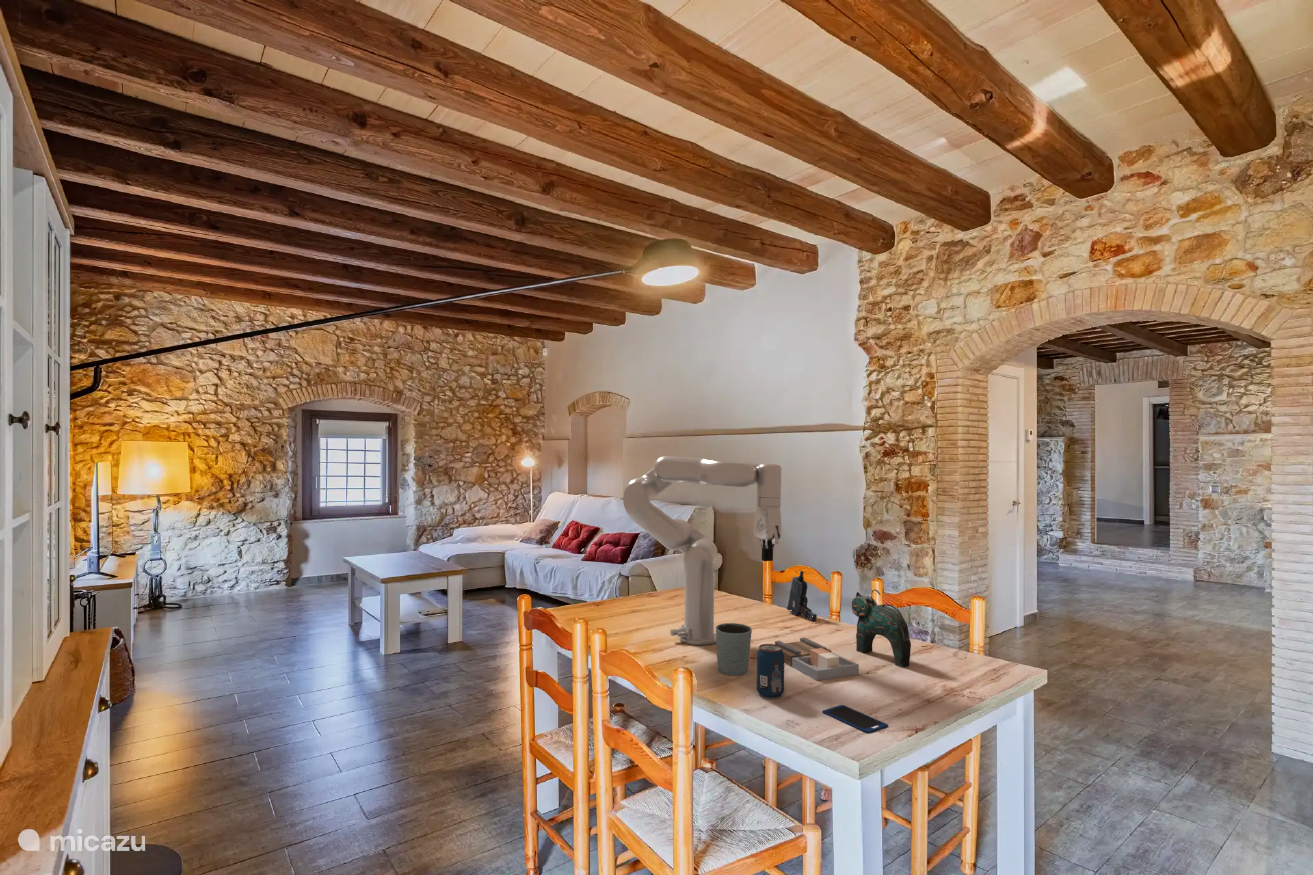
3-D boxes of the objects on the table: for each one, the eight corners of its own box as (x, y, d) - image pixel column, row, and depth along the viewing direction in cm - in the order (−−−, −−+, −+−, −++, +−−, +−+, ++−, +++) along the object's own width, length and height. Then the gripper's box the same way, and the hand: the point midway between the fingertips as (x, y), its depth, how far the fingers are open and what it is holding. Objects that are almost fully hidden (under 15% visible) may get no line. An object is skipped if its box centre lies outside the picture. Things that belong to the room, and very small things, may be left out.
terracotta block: (818, 667, 185) (818, 653, 185) (810, 663, 189) (810, 649, 189) (830, 666, 187) (830, 651, 187) (821, 661, 191) (821, 647, 191)
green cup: (730, 662, 192) (731, 620, 192) (759, 670, 185) (759, 627, 185) (707, 670, 185) (708, 627, 185) (736, 679, 178) (736, 635, 178)
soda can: (765, 687, 172) (765, 641, 173) (789, 693, 168) (789, 646, 168) (751, 695, 167) (751, 647, 167) (775, 702, 163) (775, 653, 163)
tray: (816, 680, 178) (816, 670, 178) (792, 667, 188) (792, 657, 188) (858, 673, 183) (858, 664, 183) (832, 661, 194) (832, 652, 194)
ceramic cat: (849, 649, 205) (849, 585, 205) (865, 646, 208) (865, 583, 208) (900, 669, 187) (900, 598, 187) (916, 665, 190) (916, 596, 190)
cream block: (818, 668, 185) (826, 672, 181) (818, 653, 185) (827, 658, 181) (829, 666, 187) (838, 671, 183) (829, 652, 187) (838, 656, 183)
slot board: (791, 666, 189) (791, 652, 189) (770, 655, 199) (770, 641, 199) (831, 660, 194) (831, 646, 194) (809, 649, 204) (809, 636, 204)
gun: (817, 585, 233) (793, 567, 247) (809, 628, 237) (786, 608, 251) (823, 584, 235) (798, 566, 248) (815, 627, 238) (791, 607, 252)
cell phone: (867, 735, 145) (867, 732, 145) (820, 713, 157) (820, 710, 157) (889, 728, 149) (889, 724, 149) (842, 707, 161) (842, 704, 161)
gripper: (746, 500, 216) (745, 556, 215) (770, 505, 202) (769, 565, 202) (766, 500, 218) (765, 556, 218) (791, 504, 204) (790, 564, 204)
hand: (767, 560), depth 210 cm, fingers closed
